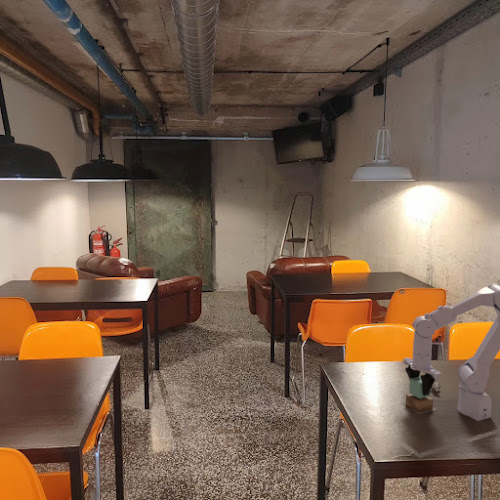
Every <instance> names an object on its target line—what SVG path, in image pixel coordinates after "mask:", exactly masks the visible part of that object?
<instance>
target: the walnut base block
mask: <svg viewBox="0 0 500 500" xmlns="http://www.w3.org/2000/svg"><path fill="white" fill-rule="evenodd" d="M405 402H406V405H408V406H410V407H411V408H413V409H414V410H416V411H418V412H422V411H426V410H430V409H433V406H434V398H432V397H431V396H428V397H424V398H418V397H416V396H414V395H413V394H411V393H407V394H405Z"/></svg>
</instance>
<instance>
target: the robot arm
mask: <svg viewBox="0 0 500 500" xmlns="http://www.w3.org/2000/svg"><path fill="white" fill-rule="evenodd" d="M481 306H483V307H491V308H494V311H495V313H496V316H497V317H496V318H495V319H494V321H493V322H492V325H491V327H490V328H489V329H488V331H487V333H486V334H485V336H484V338H483V339H482V341H481V343H480V345H478V348H477V349H476V351H475V353H474V354H473V356H472V357H469V358H468V359H466V361H465V362H464V363H463V364H461V365H460V366H458V367H459V368H458V369H457V375H458V377H459V378H460V381H459V383H458V398H457V411H458V412H459V413H460V414H462V415H464V416H467V417H470V418H471V419H473V420H475V421H477V422H480V421H483V420H487V419H490V418H491V417H492V406H493V405H492V404H493V401H492V397H491V396H490V395H488V394H487V393H486V391H485V389H487V387H488V386H487V385H488V379H489V377H490V367H491V365H492V364H493V362H494V360H495V358H496V357H497V355H498V354H499V352H500V283H496V282H495V283H490V285H489V284H488V286H484V287H482V288H481V289H479V290H478V291H476V292H475V293H473V294H471V295H470V296H467V297H466V298H464V299H462V300H460V301H458V302H457V303H455V304H453V305H451V306H449V305H445V304H444V306H442V305H439V306H437V309H435V310H433V311H431V312H427V313H424V314H423V315H419V316H416V317H415V319H414V320H413V321H412V325H411V326H412V327H413V329H414V331H413V342H412V344H413V346H412V358H410V357H405V358H403V359H402V364H403V365H405V366H406V365H408V366H407V367H405V369H404V370H405V372H406V374H407V376H408V379H409V381H410V379H411V378H415V377H419V376H420V377H421V380H422V391H423V395H424V396H426V395H429V392H430V393H431V390H432V385H433V383H434V382H435V380H441V378H442V373H441V372H440V371H438V370H436V369H435V368H434V367H433V366H432V349H433V348H432V347H433V336H434V334H435V333H436V331H437V330H439V329H442V328H444V327H446V326H448V325H450V324H452V323H453V322H456V319H457V317H458V316H460V315H462V314H465V313H467V312H469V311H471V310H473V309H476V308H479V307H481ZM421 372H422V373H424V374H422V375H421Z"/></svg>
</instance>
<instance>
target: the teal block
mask: <svg viewBox="0 0 500 500" xmlns="http://www.w3.org/2000/svg"><path fill="white" fill-rule="evenodd" d="M408 390H409V393H408V394H410V393H411V394H413V395H414V396H416V397H418V398H424V397H428V396H429V397H431V391H430V392H429V395H426V396H424V395H423V391H422V380H421V377H420V375H419V377H415V378H411V379H410V380H409V389H408Z"/></svg>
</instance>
